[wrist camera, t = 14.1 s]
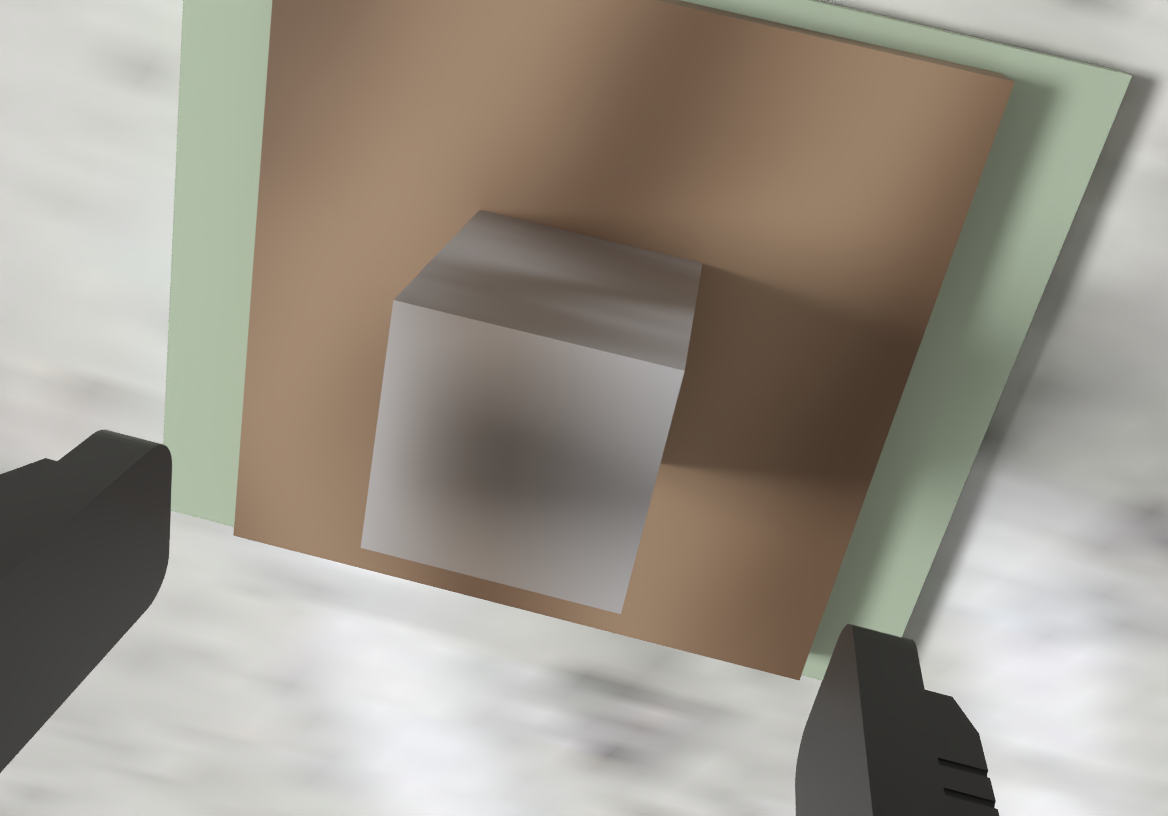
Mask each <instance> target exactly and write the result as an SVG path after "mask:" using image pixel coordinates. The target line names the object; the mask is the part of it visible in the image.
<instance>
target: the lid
mask: <svg viewBox="0 0 1168 816" xmlns="http://www.w3.org/2000/svg"><path fill="white" fill-rule="evenodd" d="M1014 83H1015V82H1014V81H1013V80H1011V79H1010V78H1008V77H1007V76H1005V75H1004V74H1002V73H998V72H993V71H989V70H984V69H980V68H976V67H971V66H967V65H962V64H958V63H954V62H949V61H945V60H940V59H936V58H932V57H927V56H923V55H918V54H914V53H909V52H905V51H901V50H896V49H892V48H887V47H883V46H879V45H874V44H870V43H865V42H861V41H857V40H852V39H848V38H843V37H839V36H835V35H830V34H826V33H821V32H817V31H813V30H808V29H804V28H799V27H795V26H791V25H786V24H782V23H777V22H773V21H768V20H764V19H760V18H755V17H751V16H746V15H742V14H738V13H733V12H729V11H724V10H720V9H716V8H711V7H707V6H702V5H698V4H694V3H689V2H685V1H680V0H272V12H271V26H270V40H269V53H268V67H267V81H266V95H265V108H264V122H263V136H262V150H261V164H260V177H259V191H258V205H257V219H256V232H255V246H254V260H253V274H252V287H251V301H250V315H249V329H248V343H247V356H246V370H245V384H244V398H243V411H242V425H241V439H240V453H239V467H238V480H237V494H236V508H235V522H234V536H238V537H242V538H246V539H250V540H254V541H258V542H261V543H265V544H269V545H273V546H277V547H281V548H285V549H289V550H293V551H297V552H300V553H304V554H308V555H312V556H316V557H320V558H324V559H328V560H332V561H336V562H339V563H343V564H347V565H351V566H355V567H359V568H363V569H367V570H371V571H375V572H378V573H382V574H386V575H390V576H394V577H398V578H402V579H406V580H410V581H414V582H418V583H421V584H425V585H429V586H433V587H437V588H441V589H445V590H449V591H453V592H457V593H460V594H464V595H468V596H472V597H476V598H480V599H484V600H488V601H492V602H496V603H499V604H503V605H507V606H511V607H515V608H519V609H523V610H527V611H531V612H535V613H539V614H542V615H546V616H550V617H554V618H558V619H562V620H566V621H570V622H574V623H578V624H581V625H585V626H589V627H593V628H597V629H601V630H605V631H609V632H613V633H617V634H620V635H624V636H628V637H632V638H636V639H640V640H644V641H648V642H652V643H656V644H659V645H663V646H667V647H671V648H675V649H679V650H683V651H687V652H691V653H695V654H699V655H702V656H706V657H710V658H714V659H718V660H722V661H726V662H730V663H734V664H738V665H741V666H745V667H749V668H753V669H757V670H761V671H765V672H769V673H773V674H777V675H780V676H784V677H788V678H792V679H796V680H800V677H801V675H802V672H803V669H804V666H805V663H806V661H807V658H808V655H809V652H810V650H811V647H812V644H813V641H814V638H815V636H816V633H817V630H818V627H819V625H820V622H821V619H822V616H823V613H824V611H825V608H826V605H827V602H828V600H829V597H830V594H831V591H832V588H833V586H834V583H835V580H836V577H837V574H838V572H839V569H840V566H841V563H842V561H843V558H844V555H845V552H846V549H847V547H848V544H849V541H850V538H851V536H852V533H853V530H854V527H855V524H856V522H857V519H858V516H859V513H860V511H861V508H862V505H863V502H864V499H865V497H866V494H867V491H868V488H869V486H870V483H871V480H872V477H873V474H874V472H875V469H876V466H877V463H878V461H879V458H880V455H881V452H882V449H883V447H884V444H885V441H886V438H887V436H888V433H889V430H890V427H891V424H892V422H893V419H894V416H895V413H896V411H897V408H898V405H899V402H900V399H901V397H902V394H903V391H904V388H905V386H906V383H907V380H908V377H909V374H910V372H911V369H912V366H913V363H914V361H915V358H916V355H917V352H918V349H919V347H920V344H921V341H922V338H923V336H924V333H925V330H926V327H927V324H928V322H929V319H930V316H931V313H932V311H933V308H934V305H935V302H936V299H937V297H938V294H939V291H940V288H941V286H942V283H943V280H944V277H945V274H946V272H947V269H948V266H949V263H950V261H951V258H952V255H953V252H954V249H955V247H956V244H957V241H958V238H959V236H960V233H961V230H962V227H963V224H964V222H965V219H966V216H967V213H968V211H969V208H970V205H971V202H972V199H973V197H974V194H975V191H976V188H977V186H978V183H979V180H980V177H981V174H982V172H983V169H984V166H985V163H986V160H987V158H988V155H989V152H990V149H991V147H992V144H993V141H994V138H995V135H996V133H997V130H998V127H999V124H1000V122H1001V119H1002V116H1003V113H1004V110H1005V108H1006V105H1007V102H1008V99H1009V97H1010V94H1011V91H1012V88H1013V85H1014Z"/></svg>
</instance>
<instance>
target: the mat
mask: <svg viewBox="0 0 1168 816" xmlns="http://www.w3.org/2000/svg"><path fill="white" fill-rule="evenodd" d="M680 1H685V2H689V3H694V4H698V5H702V6H707V7H711V8H716V9H720V10H724V11H729V12H733V13H738V14H742V15H746V16H751V17H755V18H760V19H764V20H768V21H773V22H777V23H782V24H786V25H791V26H795V27H799V28H804V29H808V30H813V31H817V32H821V33H826V34H830V35H835V36H839V37H843V38H848V39H852V40H857V41H861V42H865V43H870V44H874V45H879V46H883V47H887V48H892V49H896V50H901V51H905V52H909V53H914V54H918V55H923V56H927V57H932V58H936V59H940V60H945V61H949V62H954V63H958V64H962V65H967V66H971V67H976V68H980V69H984V70H989V71H993V72H998V73H1002V74H1004V75H1005V76H1007V77H1008V78H1010V79H1011V80H1013V81H1014V82H1015V83H1014V85H1013V88H1012V91H1011V94H1010V97H1009V99H1008V102H1007V105H1006V108H1005V110H1004V113H1003V116H1002V119H1001V122H1000V124H999V127H998V130H997V133H996V135H995V138H994V141H993V144H992V147H991V149H990V152H989V155H988V158H987V160H986V163H985V166H984V169H983V172H982V174H981V177H980V180H979V183H978V186H977V188H976V191H975V194H974V197H973V199H972V202H971V205H970V208H969V211H968V213H967V216H966V219H965V222H964V224H963V227H962V230H961V233H960V236H959V238H958V241H957V244H956V247H955V249H954V252H953V255H952V258H951V261H950V263H949V266H948V269H947V272H946V274H945V277H944V280H943V283H942V286H941V288H940V291H939V294H938V297H937V299H936V302H935V305H934V308H933V311H932V313H931V316H930V319H929V322H928V324H927V327H926V330H925V333H924V336H923V338H922V341H921V344H920V347H919V349H918V352H917V355H916V358H915V361H914V363H913V366H912V369H911V372H910V374H909V377H908V380H907V383H906V386H905V388H904V391H903V394H902V397H901V399H900V402H899V405H898V408H897V411H896V413H895V416H894V419H893V422H892V424H891V427H890V430H889V433H888V436H887V438H886V441H885V444H884V447H883V449H882V452H881V455H880V458H879V461H878V463H877V466H876V469H875V472H874V474H873V477H872V480H871V483H870V486H869V488H868V491H867V494H866V497H865V499H864V502H863V505H862V508H861V511H860V513H859V516H858V519H857V522H856V524H855V527H854V530H853V533H852V536H851V538H850V541H849V544H848V547H847V549H846V552H845V555H844V558H843V561H842V563H841V566H840V569H839V572H838V574H837V577H836V580H835V583H834V586H833V588H832V591H831V594H830V597H829V600H828V602H827V605H826V608H825V611H824V613H823V616H822V619H821V622H820V625H819V627H818V630H817V633H816V636H815V638H814V641H813V644H812V647H811V650H810V652H809V655H808V658H807V661H806V663H805V666H804V669H803V672H802V675H803V676H807V677H811V678H815V679H818V680H823V678H824V675H825V672H826V670H827V667H828V664H829V662H830V659H831V656H832V654H833V651H834V648H835V646H836V643H837V640H838V638H839V635H840V633H841V631H842V630H843V628H844V627H845V626H846V625H847V624H852V625H856V626H859V627H863V628H867V629H871V630H875V631H879V632H883V633H887V634H890V635H894V636H898V637H902V635H903V633H904V631H905V628H906V626H907V623H908V621H909V618H910V616H911V613H912V611H913V609H914V606H915V604H916V601H917V599H918V596H919V594H920V592H921V589H922V587H923V584H924V582H925V579H926V577H927V575H928V572H929V570H930V567H931V565H932V562H933V560H934V557H935V555H936V553H937V550H938V548H939V545H940V543H941V540H942V538H943V536H944V533H945V531H946V528H947V526H948V523H949V521H950V518H951V516H952V514H953V511H954V509H955V506H956V504H957V501H958V499H959V497H960V494H961V492H962V489H963V487H964V484H965V482H966V479H967V477H968V475H969V472H970V470H971V467H972V465H973V462H974V460H975V458H976V455H977V453H978V450H979V448H980V445H981V443H982V440H983V438H984V436H985V433H986V431H987V428H988V426H989V423H990V421H991V419H992V416H993V414H994V411H995V409H996V406H997V404H998V402H999V399H1000V397H1001V394H1002V392H1003V389H1004V387H1005V384H1006V382H1007V380H1008V377H1009V375H1010V372H1011V370H1012V367H1013V365H1014V363H1015V360H1016V358H1017V355H1018V353H1019V350H1020V348H1021V345H1022V343H1023V341H1024V338H1025V336H1026V333H1027V331H1028V328H1029V326H1030V324H1031V321H1032V319H1033V316H1034V314H1035V311H1036V309H1037V306H1038V304H1039V302H1040V299H1041V297H1042V294H1043V292H1044V289H1045V287H1046V285H1047V282H1048V280H1049V277H1050V275H1051V272H1052V270H1053V267H1054V265H1055V263H1056V260H1057V258H1058V255H1059V253H1060V250H1061V248H1062V246H1063V243H1064V241H1065V238H1066V236H1067V233H1068V231H1069V229H1070V226H1071V224H1072V221H1073V219H1074V216H1075V214H1076V211H1077V209H1078V207H1079V204H1080V202H1081V199H1082V197H1083V194H1084V192H1085V190H1086V187H1087V185H1088V182H1089V180H1090V177H1091V175H1092V172H1093V170H1094V168H1095V165H1096V163H1097V160H1098V158H1099V155H1100V153H1101V151H1102V148H1103V146H1104V143H1105V141H1106V138H1107V136H1108V133H1109V131H1110V129H1111V126H1112V124H1113V121H1114V119H1115V116H1116V114H1117V112H1118V109H1119V107H1120V104H1121V102H1122V99H1123V97H1124V94H1125V92H1126V90H1127V87H1128V85H1129V82H1130V80H1131V77H1132V75H1130V74H1127V73H1125V72H1123V71H1120V70H1115V69H1111V68H1107V67H1102V66H1098V65H1094V64H1089V63H1085V62H1081V61H1077V60H1072V59H1068V58H1064V57H1059V56H1055V55H1051V54H1046V53H1042V52H1038V51H1033V50H1029V49H1025V48H1021V47H1016V46H1012V45H1008V44H1003V43H999V42H995V41H990V40H986V39H982V38H978V37H973V36H969V35H965V34H960V33H956V32H952V31H947V30H943V29H939V28H934V27H930V26H926V25H922V24H917V23H913V22H909V21H904V20H900V19H896V18H891V17H887V16H883V15H878V14H874V13H870V12H866V11H861V10H857V9H853V8H848V7H844V6H840V5H835V4H831V3H827V2H823V1H818V0H680ZM271 12H272V0H183V18H182V41H181V63H180V85H179V107H178V129H177V152H176V174H175V196H174V218H173V241H172V263H171V285H170V307H169V330H168V352H167V374H166V396H165V419H164V441H163V445H165V446H167V447H168V449H169V450H170V453H171V457H172V486H171V511H175V512H179V513H183V514H187V515H190V516H194V517H198V518H202V519H206V520H209V521H213V522H217V523H221V524H225V525H229V526H232V527H234V522H235V508H236V494H237V480H238V467H239V453H240V439H241V425H242V411H243V398H244V384H245V370H246V356H247V343H248V329H249V315H250V301H251V287H252V274H253V260H254V246H255V232H256V219H257V205H258V191H259V177H260V164H261V150H262V136H263V122H264V108H265V95H266V81H267V67H268V53H269V40H270V26H271Z"/></svg>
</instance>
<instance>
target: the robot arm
mask: <svg viewBox="0 0 1168 816" xmlns="http://www.w3.org/2000/svg"><path fill="white" fill-rule="evenodd" d="M171 486H172V457H171V453H170V450H169V449H168V447H167V446H165V445H162V444H159V443H155V442H151V441H147V440H143V439H139V438H135V437H132V436H128V435H124V434H120V433H116V432H112V431H108V430H100V431H97V432H95V433H94V434H92V435H91V436H90V437H88V438H87V439H86V440H85V441H83V442H82V443H81V444H79V445H78V446H77V447H75V448H74V449H73V450H72V451H70V452H69V453H68V454H66V455H65V456H64V457H62V458H61V459H60V460H59V461H54V460H50V459H46V458H45V459H42V460H39V461H37V462H34V463H31V464H28V465H25V466H23V467H20V468H17V469H14V470H12V471H9V472H6V473H3V474H1V475H0V773H1V771H2V770H3V769H4V768H5V767H6V766H7V765H8V764H9V763H10V761H11V760H12V759H13V758H14V757H15V756H16V755H17V754H18V753H19V751H20V750H21V749H22V748H23V747H24V746H25V745H26V744H27V742H28V741H29V740H30V739H31V738H32V737H33V736H34V735H35V734H36V732H37V731H38V730H39V729H40V728H41V727H42V726H43V725H44V724H45V722H46V721H47V720H48V719H49V718H50V717H51V716H52V715H53V714H54V712H55V711H56V710H57V709H58V708H59V707H60V706H61V705H62V703H63V702H64V701H65V700H66V699H67V698H68V697H69V696H70V695H71V693H72V692H73V691H74V690H75V689H76V688H77V687H78V686H79V685H80V683H81V682H82V681H83V680H84V679H85V678H86V677H87V676H88V674H89V673H90V672H91V671H92V670H93V669H94V668H95V667H96V666H97V664H98V663H99V662H100V661H101V660H102V659H103V658H104V657H105V656H106V654H107V653H108V652H109V651H110V650H111V649H112V648H113V647H114V645H115V644H116V643H117V642H118V641H119V640H120V639H121V638H122V637H123V635H124V634H125V633H126V632H127V631H128V630H129V629H130V628H131V627H132V625H133V624H134V623H135V622H136V621H137V620H138V619H139V618H140V616H141V615H142V614H143V613H144V612H145V611H146V610H147V609H148V607H149V606H150V605H151V603H152V602H153V600H154V599H155V597H156V595H157V593H158V591H159V589H160V587H161V584H162V582H163V579H164V576H165V573H166V569H167V565H168V559H169V540H170V513H171ZM987 772H988V768H987V764H986V760H985V756H984V752H983V748H982V744H981V740H980V736H979V733H978V732H977V730H976V729H975V728H974V726H973V725H972V723H971V722H970V721H969V719H968V718H967V717H966V715H965V714H964V712H963V711H962V710H961V708H960V707H959V705H958V704H957V703H956V701H955V700H954V699H953V697H951V696H947V695H943V694H939V693H936V692H932V691H928V690H925V689H924V684H923V679H922V674H921V668H920V663H919V658H918V653H917V648H916V645H915V643H914V641H913V640H910V639H906V638H902V637H898V636H894V635H890V634H887V633H883V632H879V631H875V630H871V629H867V628H863V627H859V626H856V625H852V624H847V625H846V626H845V627H844V628H843V630H842V631H841V633H840V635H839V638H838V640H837V643H836V646H835V648H834V651H833V654H832V656H831V659H830V662H829V664H828V667H827V670H826V672H825V675H824V678H823V680H822V683H821V686H820V688H819V691H818V694H817V696H816V699H815V702H814V704H813V707H812V710H811V713H810V715H809V718H808V721H807V723H806V726H805V729H804V732H803V736H802V740H801V744H800V748H799V754H798V759H797V766H796V778H795V793H796V816H999V813H998V809H995V808H994V806H995V802H996V801H995V797H994V793H993V789H992V785H991V781H990V778H988V777H987Z"/></svg>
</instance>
